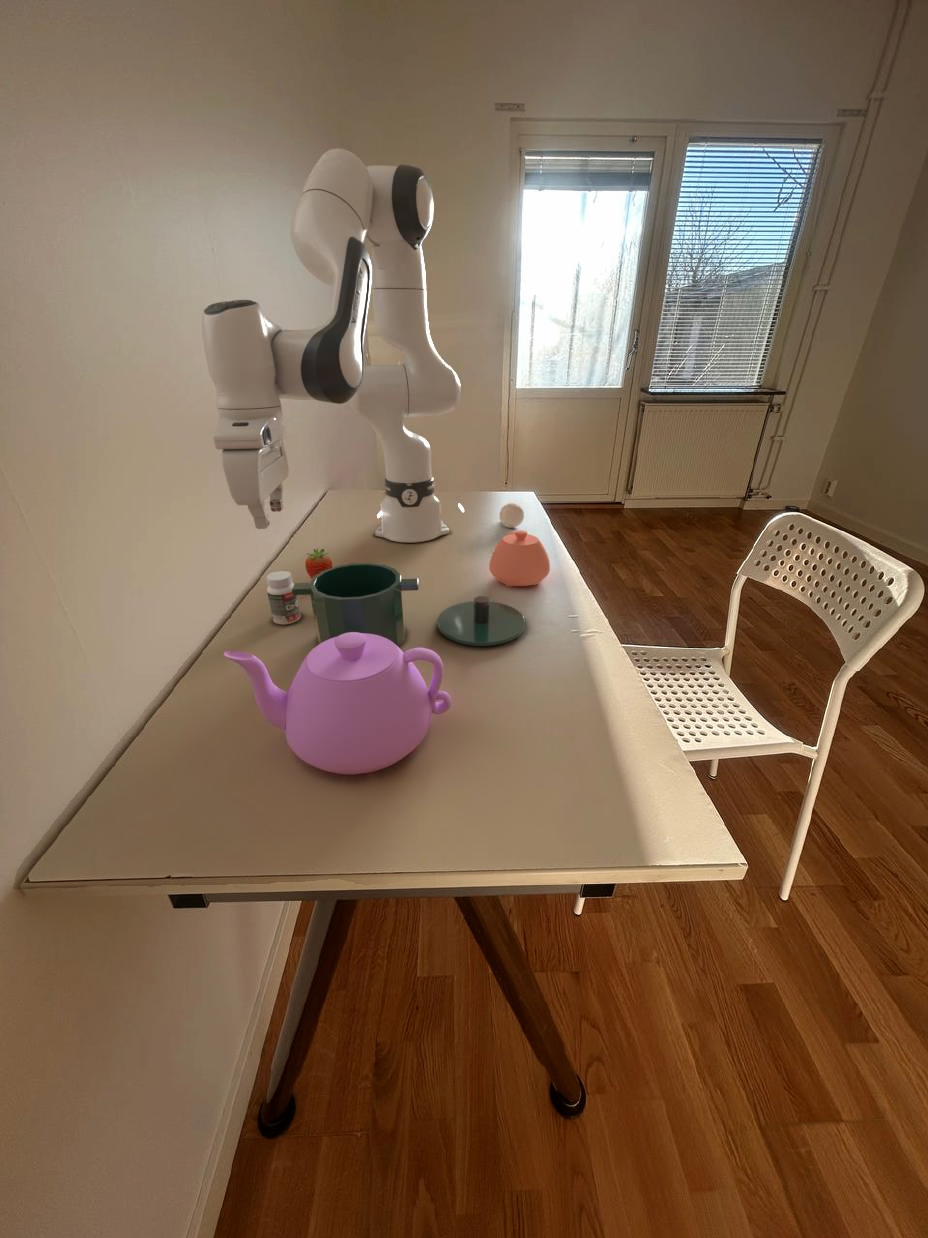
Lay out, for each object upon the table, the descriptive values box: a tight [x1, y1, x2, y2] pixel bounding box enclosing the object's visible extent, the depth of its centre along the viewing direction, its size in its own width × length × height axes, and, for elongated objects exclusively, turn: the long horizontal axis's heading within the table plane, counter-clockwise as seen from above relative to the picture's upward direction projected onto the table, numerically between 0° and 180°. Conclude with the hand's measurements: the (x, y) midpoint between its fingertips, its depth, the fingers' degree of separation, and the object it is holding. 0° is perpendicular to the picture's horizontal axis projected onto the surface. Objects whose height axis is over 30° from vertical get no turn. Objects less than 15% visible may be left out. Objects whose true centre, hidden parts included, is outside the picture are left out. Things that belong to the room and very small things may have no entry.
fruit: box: [304, 548, 334, 579], centre depth 102 cm, size 5×5×8 cm
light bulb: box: [498, 502, 525, 529], centre depth 137 cm, size 7×7×11 cm
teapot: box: [223, 632, 452, 776], centre depth 61 cm, size 25×18×14 cm
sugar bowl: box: [488, 529, 551, 588], centre depth 104 cm, size 12×14×10 cm
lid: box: [437, 595, 526, 647], centre depth 87 cm, size 15×15×5 cm
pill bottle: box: [266, 570, 301, 625], centre depth 89 cm, size 5×5×8 cm
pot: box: [292, 562, 419, 648], centre depth 83 cm, size 14×19×10 cm
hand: (270, 518), depth 83 cm, fingers open, 8 cm apart
